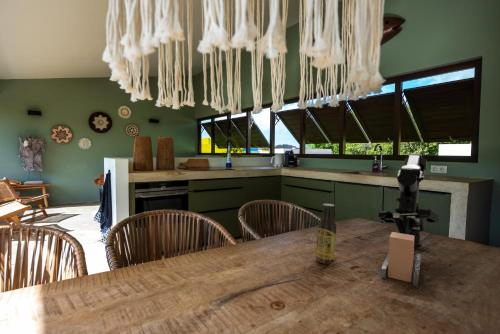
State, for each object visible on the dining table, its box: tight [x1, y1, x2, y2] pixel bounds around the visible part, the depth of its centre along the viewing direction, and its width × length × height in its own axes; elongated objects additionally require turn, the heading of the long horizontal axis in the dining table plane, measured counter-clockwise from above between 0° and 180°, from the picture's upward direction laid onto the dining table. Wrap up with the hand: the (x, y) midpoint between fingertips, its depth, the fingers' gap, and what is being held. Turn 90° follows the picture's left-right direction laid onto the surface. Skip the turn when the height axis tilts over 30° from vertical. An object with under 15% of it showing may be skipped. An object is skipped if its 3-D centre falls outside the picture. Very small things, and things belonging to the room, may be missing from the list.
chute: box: [380, 251, 422, 288], centre depth 86 cm, size 20×9×4 cm, turn 147°
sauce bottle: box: [315, 203, 337, 265], centre depth 95 cm, size 6×6×20 cm
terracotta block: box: [387, 231, 415, 283], centre depth 82 cm, size 6×6×12 cm
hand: (403, 239), depth 95 cm, fingers closed
